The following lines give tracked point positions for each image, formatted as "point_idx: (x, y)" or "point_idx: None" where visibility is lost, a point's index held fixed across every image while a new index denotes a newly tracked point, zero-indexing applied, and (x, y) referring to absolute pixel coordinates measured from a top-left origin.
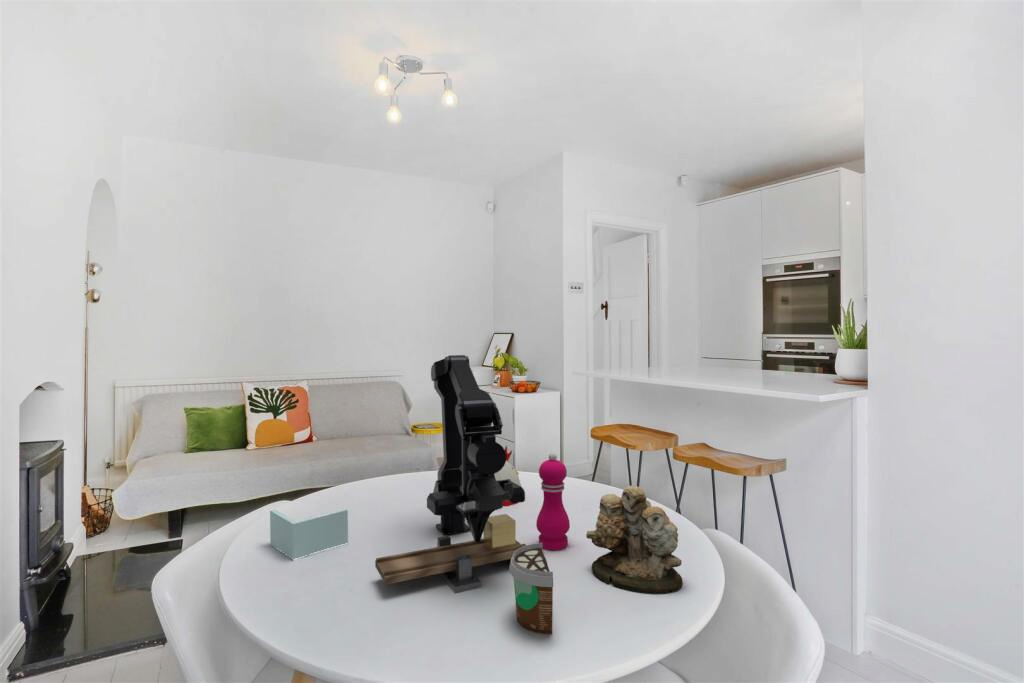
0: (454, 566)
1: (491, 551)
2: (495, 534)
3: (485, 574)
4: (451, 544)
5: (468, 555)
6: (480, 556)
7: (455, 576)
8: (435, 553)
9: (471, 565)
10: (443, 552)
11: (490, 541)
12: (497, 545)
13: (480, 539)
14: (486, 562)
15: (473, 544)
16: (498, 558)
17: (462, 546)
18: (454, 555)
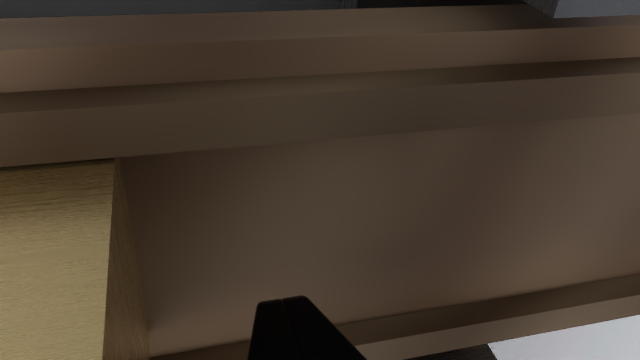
0: (598, 16)
1: (147, 112)
2: (36, 322)
3: (209, 9)
4: (440, 351)
5: (558, 7)
6: (309, 77)
7: (511, 4)
8: (583, 267)
9: (413, 12)
10: (529, 270)
11: (121, 271)
12: (23, 196)
13: (254, 319)
14: (230, 19)
15: (244, 346)
16: (55, 30)
17: (353, 327)
18: (499, 198)
